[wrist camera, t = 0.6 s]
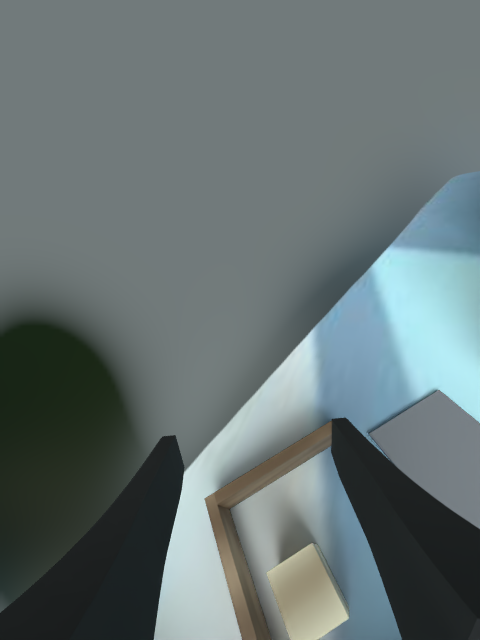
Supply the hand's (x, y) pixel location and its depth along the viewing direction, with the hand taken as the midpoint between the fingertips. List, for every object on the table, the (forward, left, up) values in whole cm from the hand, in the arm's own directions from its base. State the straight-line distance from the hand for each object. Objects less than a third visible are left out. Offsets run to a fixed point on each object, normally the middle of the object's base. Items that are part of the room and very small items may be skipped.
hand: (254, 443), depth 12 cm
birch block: (-5, +3, -19) cm, 20 cm away
